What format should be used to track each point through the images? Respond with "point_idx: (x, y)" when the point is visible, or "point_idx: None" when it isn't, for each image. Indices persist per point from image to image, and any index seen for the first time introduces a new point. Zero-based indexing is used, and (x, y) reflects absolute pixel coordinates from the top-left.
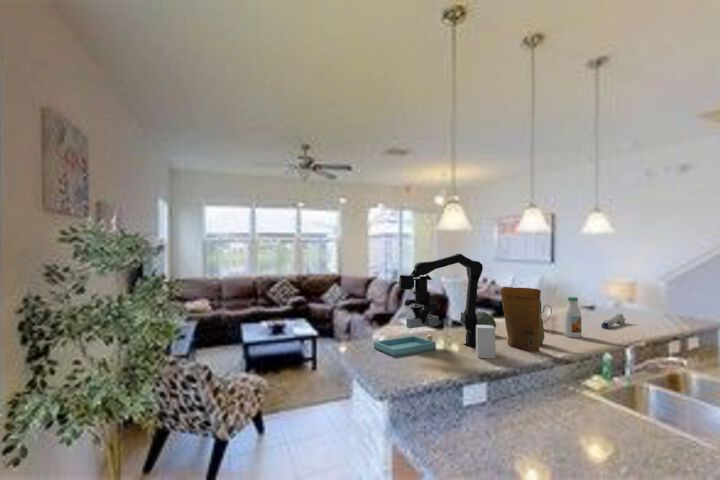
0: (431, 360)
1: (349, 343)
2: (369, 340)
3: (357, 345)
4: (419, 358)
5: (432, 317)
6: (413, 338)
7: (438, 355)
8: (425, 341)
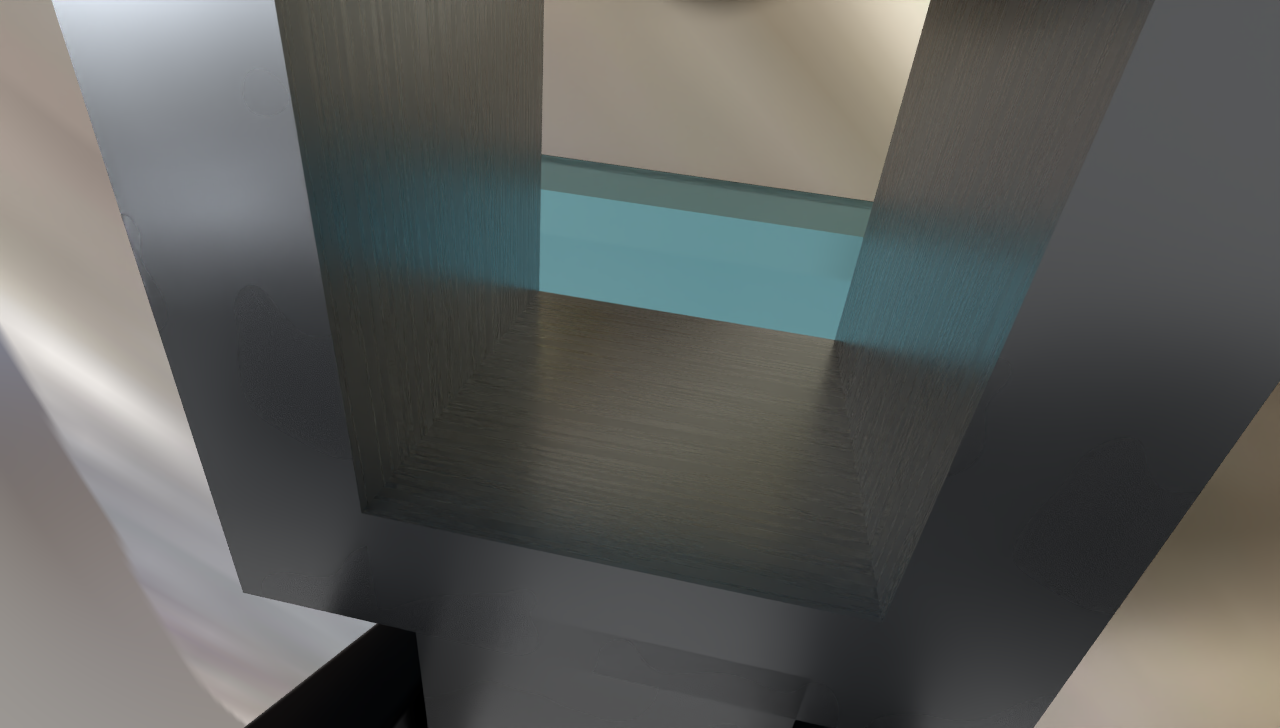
0: (1265, 661)
1: (198, 670)
2: (130, 507)
3: (287, 676)
4: (1073, 675)
5: (1116, 526)
6: None
7: (1256, 459)
8: (757, 257)
